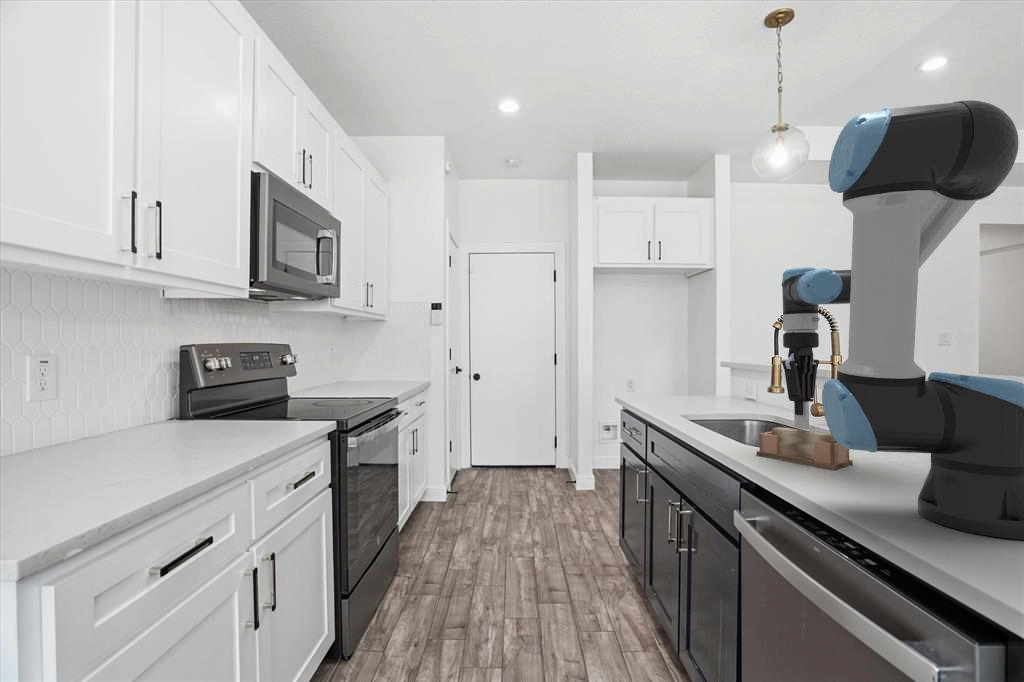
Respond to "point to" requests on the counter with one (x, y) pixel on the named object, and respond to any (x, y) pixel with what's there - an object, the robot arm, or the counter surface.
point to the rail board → (803, 460)
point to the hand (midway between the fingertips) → (801, 428)
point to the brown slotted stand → (821, 449)
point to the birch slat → (800, 441)
